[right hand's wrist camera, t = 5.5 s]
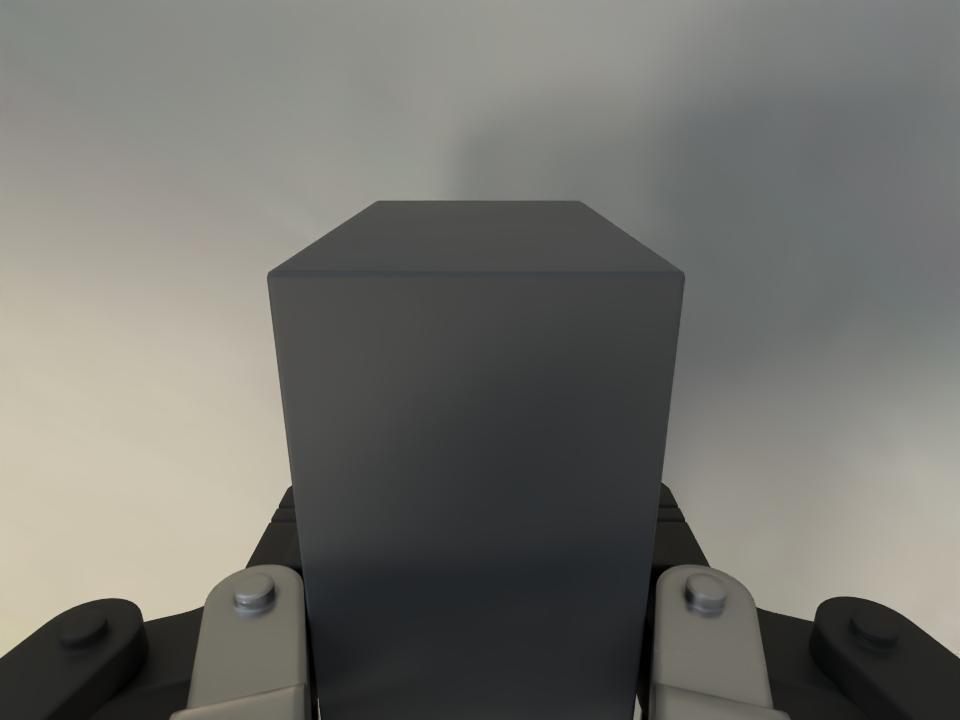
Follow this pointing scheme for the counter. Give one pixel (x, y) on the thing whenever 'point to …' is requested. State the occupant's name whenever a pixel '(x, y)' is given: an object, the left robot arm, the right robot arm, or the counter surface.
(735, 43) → the counter surface
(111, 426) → the counter surface
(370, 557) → the beam
